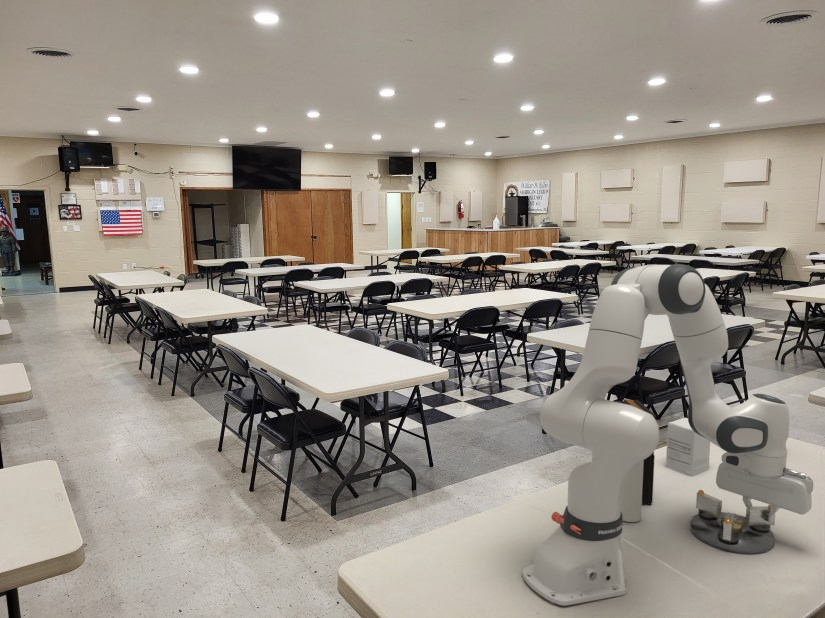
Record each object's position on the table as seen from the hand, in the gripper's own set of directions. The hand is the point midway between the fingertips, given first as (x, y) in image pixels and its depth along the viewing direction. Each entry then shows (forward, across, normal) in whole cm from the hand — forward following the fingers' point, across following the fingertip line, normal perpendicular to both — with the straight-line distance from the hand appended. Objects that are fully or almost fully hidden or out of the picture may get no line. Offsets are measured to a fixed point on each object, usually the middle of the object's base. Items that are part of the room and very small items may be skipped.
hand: (759, 517), depth 149 cm
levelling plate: (+5, +4, +5) cm, 8 cm away
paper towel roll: (+5, +25, +15) cm, 29 cm away
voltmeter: (+5, +33, +2) cm, 33 cm away
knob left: (+3, +11, +3) cm, 11 cm away
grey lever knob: (+3, 0, 0) cm, 3 cm away
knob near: (+3, +2, +11) cm, 11 cm away
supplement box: (+5, +30, -25) cm, 40 cm away
